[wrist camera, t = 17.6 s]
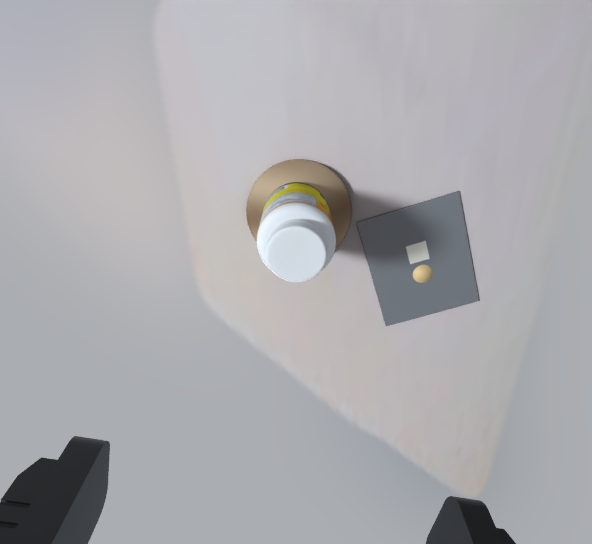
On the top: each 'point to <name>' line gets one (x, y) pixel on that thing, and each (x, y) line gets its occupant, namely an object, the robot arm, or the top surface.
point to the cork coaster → (307, 174)
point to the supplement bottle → (296, 232)
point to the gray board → (420, 259)
